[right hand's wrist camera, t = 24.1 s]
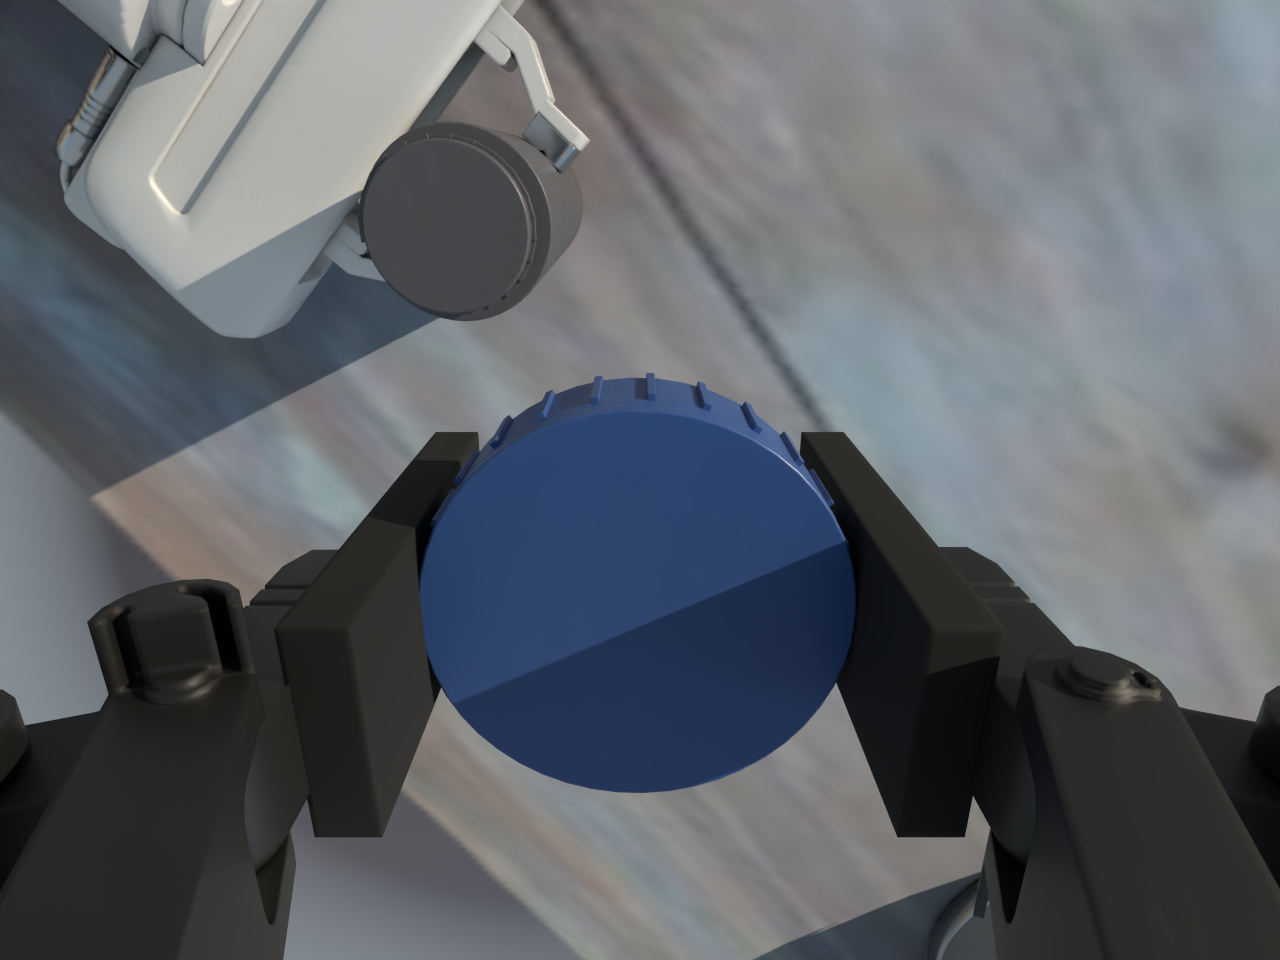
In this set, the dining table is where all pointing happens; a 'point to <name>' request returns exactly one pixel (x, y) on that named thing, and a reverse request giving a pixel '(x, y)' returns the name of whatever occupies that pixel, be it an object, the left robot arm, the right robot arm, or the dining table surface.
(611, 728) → the lid
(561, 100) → the dining table surface
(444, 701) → the dining table surface
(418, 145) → the jar
